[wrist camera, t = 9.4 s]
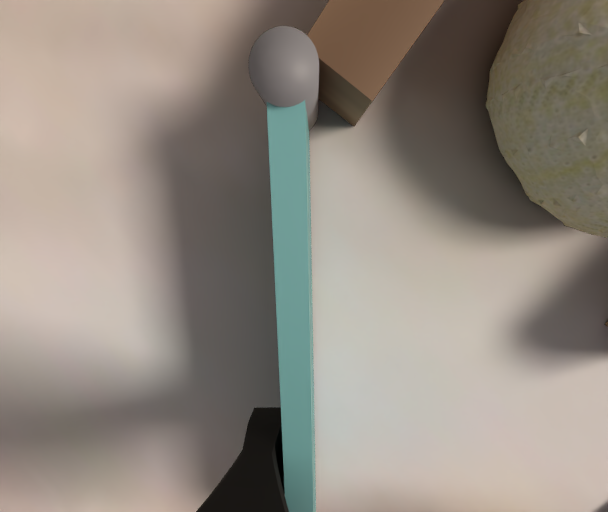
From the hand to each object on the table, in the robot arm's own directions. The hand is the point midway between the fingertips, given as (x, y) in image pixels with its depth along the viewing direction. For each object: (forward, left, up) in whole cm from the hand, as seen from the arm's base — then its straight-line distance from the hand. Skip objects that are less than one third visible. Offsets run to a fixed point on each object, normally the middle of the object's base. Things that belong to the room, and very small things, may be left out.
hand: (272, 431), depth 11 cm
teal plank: (+1, -3, -2) cm, 4 cm away
